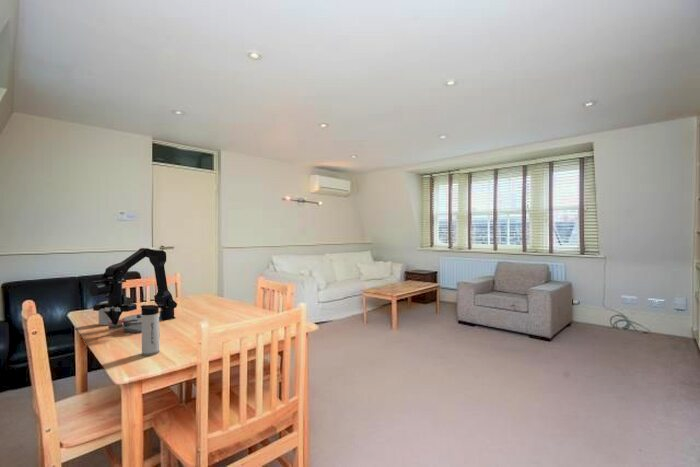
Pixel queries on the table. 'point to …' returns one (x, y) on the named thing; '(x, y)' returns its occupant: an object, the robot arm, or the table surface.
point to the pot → (129, 327)
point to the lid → (129, 319)
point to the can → (103, 317)
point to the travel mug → (150, 330)
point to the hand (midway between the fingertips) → (115, 324)
